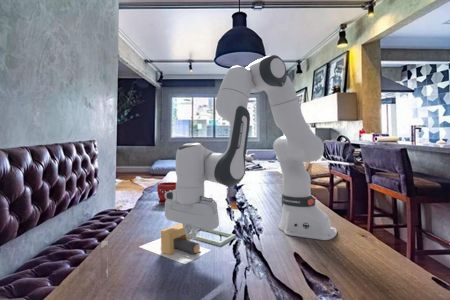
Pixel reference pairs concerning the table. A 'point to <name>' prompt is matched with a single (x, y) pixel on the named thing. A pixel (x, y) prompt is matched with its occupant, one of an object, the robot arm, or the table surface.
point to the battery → (186, 245)
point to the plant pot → (164, 187)
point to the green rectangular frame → (229, 235)
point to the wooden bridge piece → (171, 237)
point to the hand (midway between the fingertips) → (191, 238)
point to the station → (177, 255)
